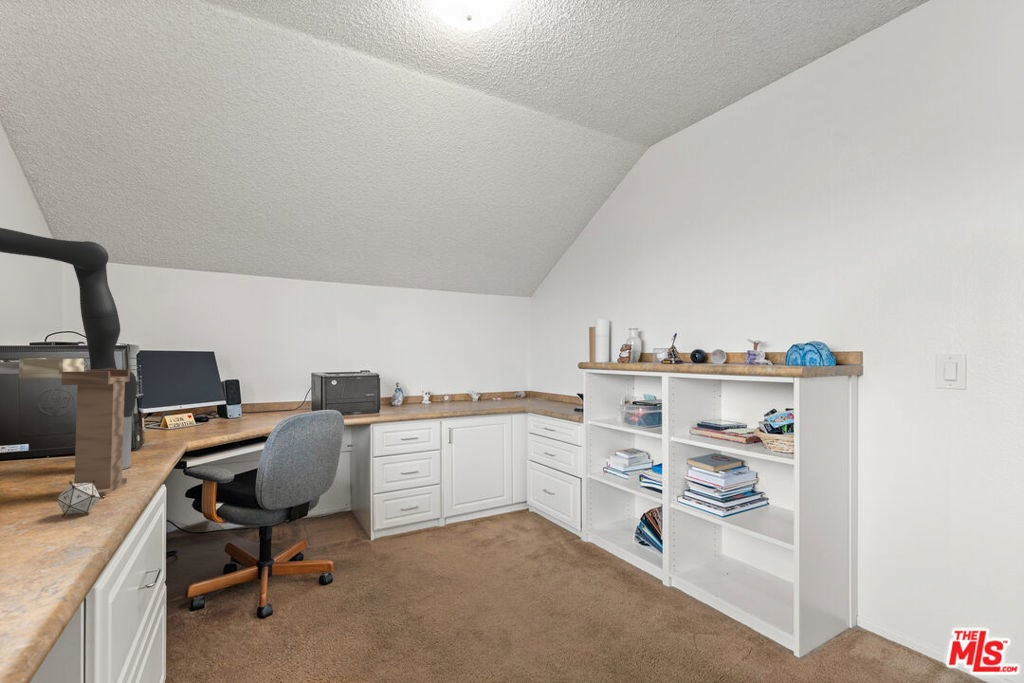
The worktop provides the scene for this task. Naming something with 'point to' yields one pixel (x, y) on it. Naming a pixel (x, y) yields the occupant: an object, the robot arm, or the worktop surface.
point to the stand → (99, 427)
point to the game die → (78, 498)
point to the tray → (42, 367)
